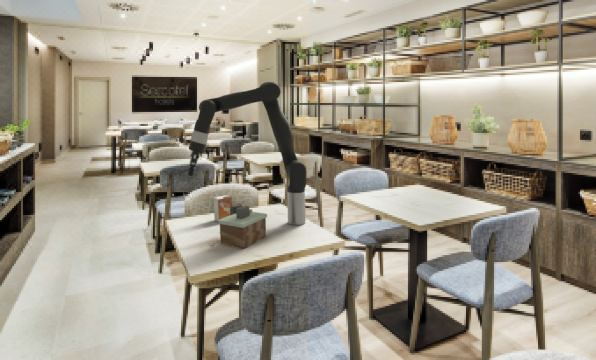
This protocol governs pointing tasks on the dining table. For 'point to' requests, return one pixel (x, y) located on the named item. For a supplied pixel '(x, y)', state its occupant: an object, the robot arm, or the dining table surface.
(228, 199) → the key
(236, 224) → the lid
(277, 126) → the robot arm
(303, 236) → the dining table surface
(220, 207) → the small box
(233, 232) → the wooden box
